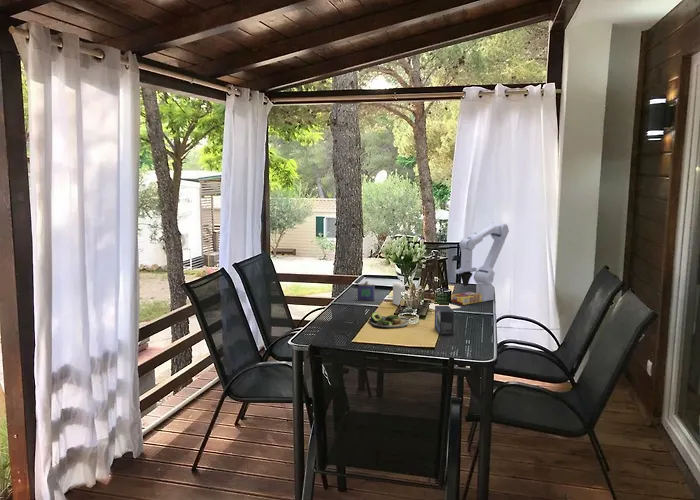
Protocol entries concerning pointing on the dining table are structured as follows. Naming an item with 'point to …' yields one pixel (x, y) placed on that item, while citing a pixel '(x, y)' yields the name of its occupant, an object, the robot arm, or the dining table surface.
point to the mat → (432, 306)
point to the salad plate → (386, 321)
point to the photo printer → (397, 292)
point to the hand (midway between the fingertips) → (465, 285)
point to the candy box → (466, 298)
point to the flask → (366, 292)
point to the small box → (444, 320)
